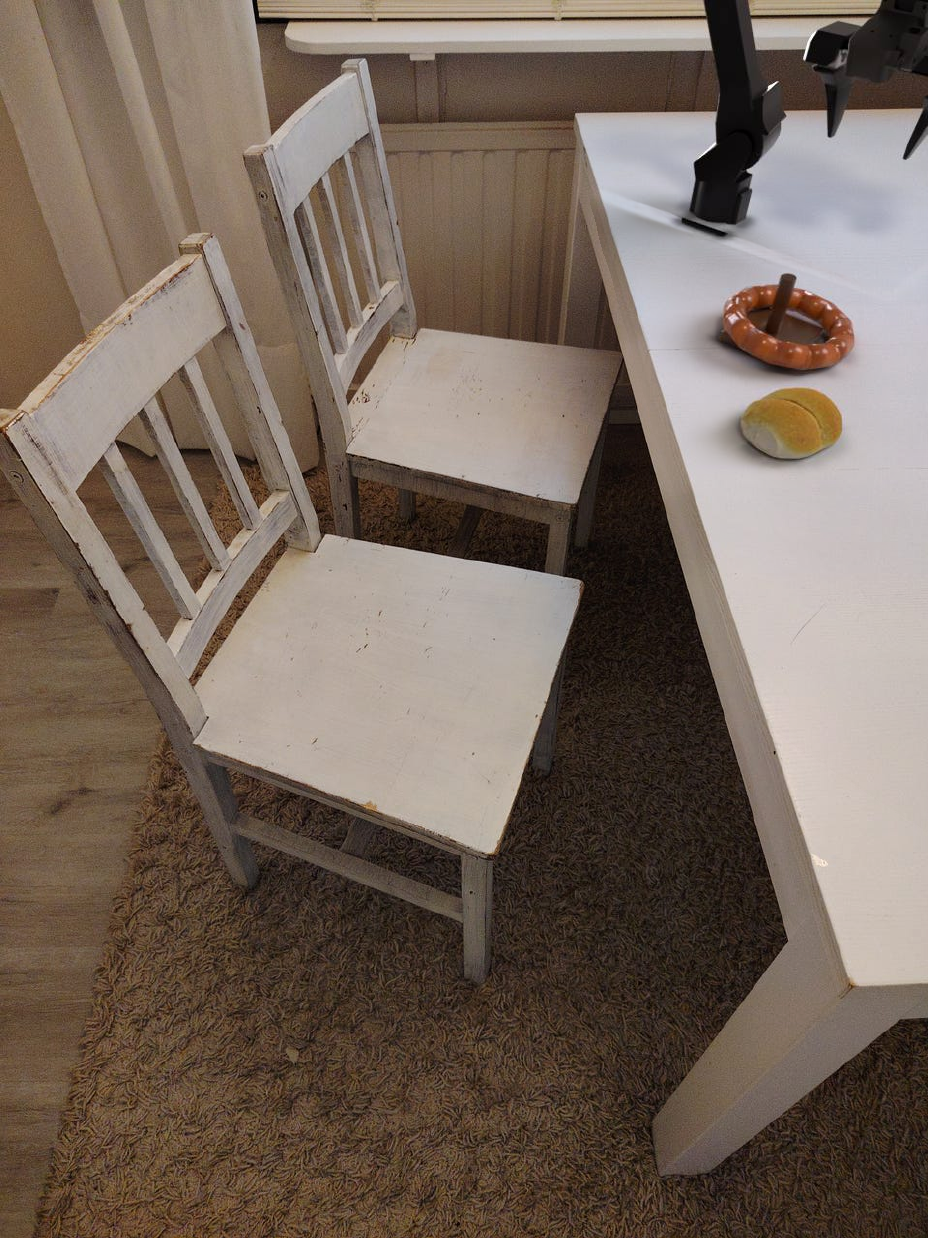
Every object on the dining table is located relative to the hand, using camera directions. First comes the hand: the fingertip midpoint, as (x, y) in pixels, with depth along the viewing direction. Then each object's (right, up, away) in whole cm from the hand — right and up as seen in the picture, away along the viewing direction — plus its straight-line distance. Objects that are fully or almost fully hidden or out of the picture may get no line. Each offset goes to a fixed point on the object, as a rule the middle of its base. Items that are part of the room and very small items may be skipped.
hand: (867, 147), depth 91 cm
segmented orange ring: (-11, -22, -5) cm, 26 cm away
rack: (-12, -23, -3) cm, 26 cm away
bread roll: (-15, -36, -14) cm, 42 cm away
